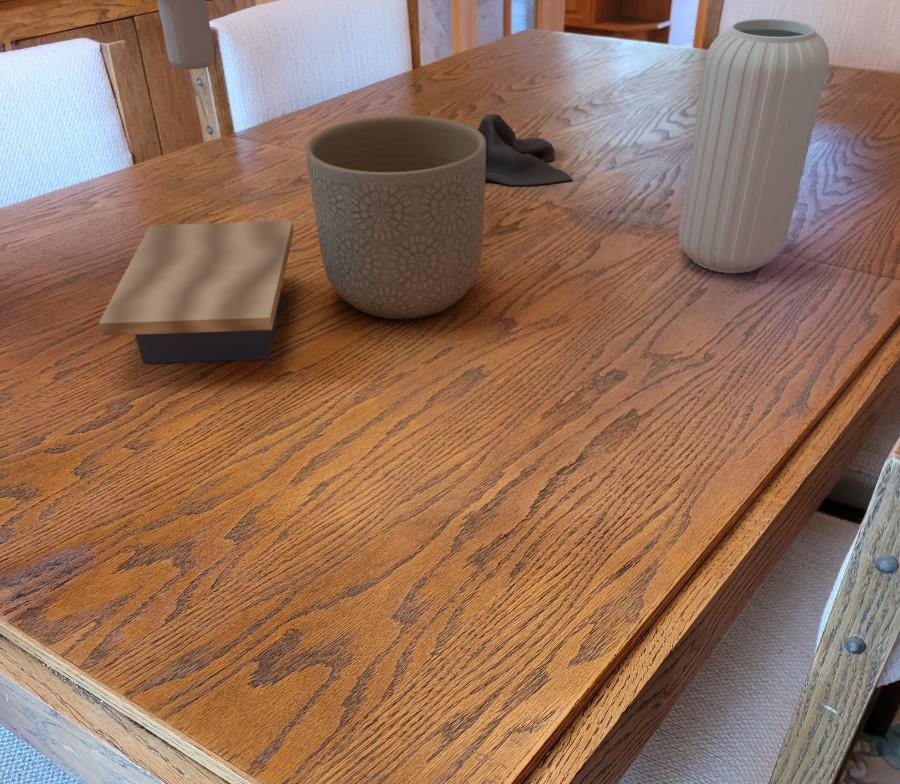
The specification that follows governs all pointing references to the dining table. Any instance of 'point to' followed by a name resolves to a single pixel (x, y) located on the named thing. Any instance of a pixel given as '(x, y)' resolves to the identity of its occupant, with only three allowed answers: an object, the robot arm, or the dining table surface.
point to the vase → (751, 142)
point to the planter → (399, 211)
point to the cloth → (517, 156)
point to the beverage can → (187, 33)
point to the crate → (207, 345)
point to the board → (202, 279)
